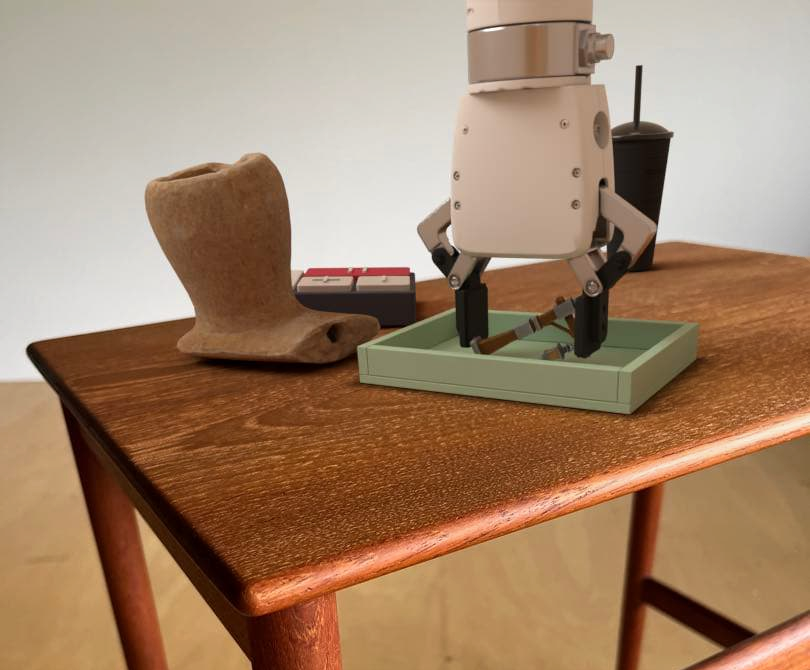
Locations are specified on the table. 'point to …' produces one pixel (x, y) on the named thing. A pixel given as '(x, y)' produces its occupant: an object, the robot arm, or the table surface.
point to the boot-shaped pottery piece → (243, 266)
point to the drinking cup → (639, 171)
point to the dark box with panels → (359, 292)
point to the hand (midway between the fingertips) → (529, 347)
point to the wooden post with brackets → (533, 331)
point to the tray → (534, 362)
